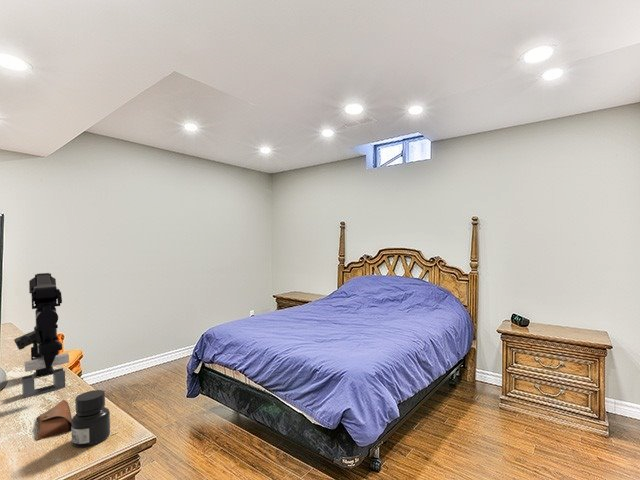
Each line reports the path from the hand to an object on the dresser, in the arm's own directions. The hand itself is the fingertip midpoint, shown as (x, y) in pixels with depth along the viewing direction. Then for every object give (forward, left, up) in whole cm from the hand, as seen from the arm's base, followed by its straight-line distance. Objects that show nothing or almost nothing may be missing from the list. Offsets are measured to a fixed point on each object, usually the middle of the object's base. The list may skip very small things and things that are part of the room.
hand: (47, 367), depth 122 cm
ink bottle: (+41, +4, -11) cm, 43 cm away
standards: (-10, 0, -11) cm, 15 cm away
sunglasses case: (+23, -1, -12) cm, 26 cm away
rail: (0, 0, 0) cm, 0 cm away
